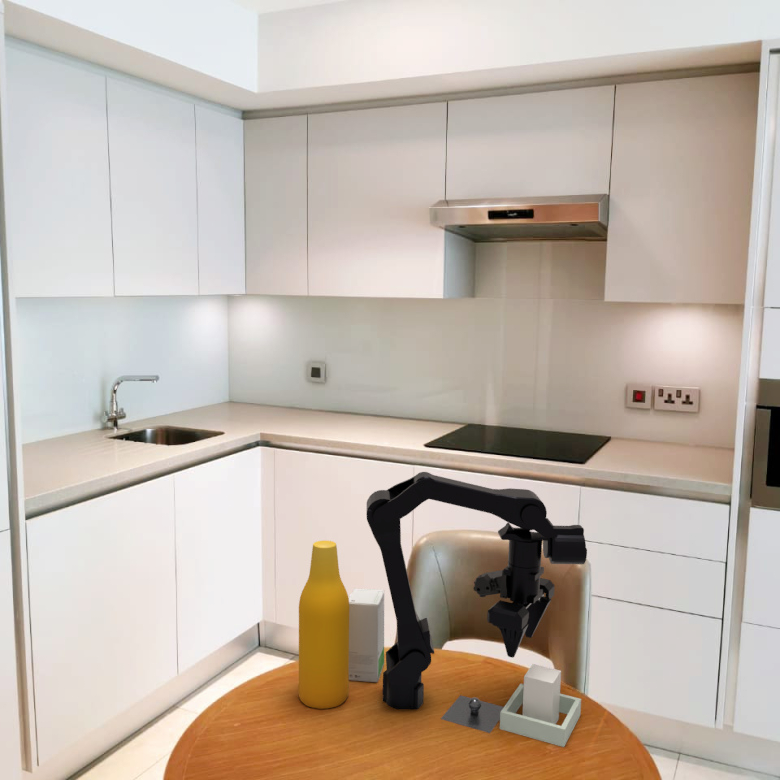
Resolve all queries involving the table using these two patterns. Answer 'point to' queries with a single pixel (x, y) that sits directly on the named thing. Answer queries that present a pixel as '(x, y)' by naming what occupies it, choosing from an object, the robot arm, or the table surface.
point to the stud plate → (473, 713)
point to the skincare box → (366, 634)
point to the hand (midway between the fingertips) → (519, 646)
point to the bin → (538, 727)
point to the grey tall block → (542, 693)
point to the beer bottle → (323, 632)
